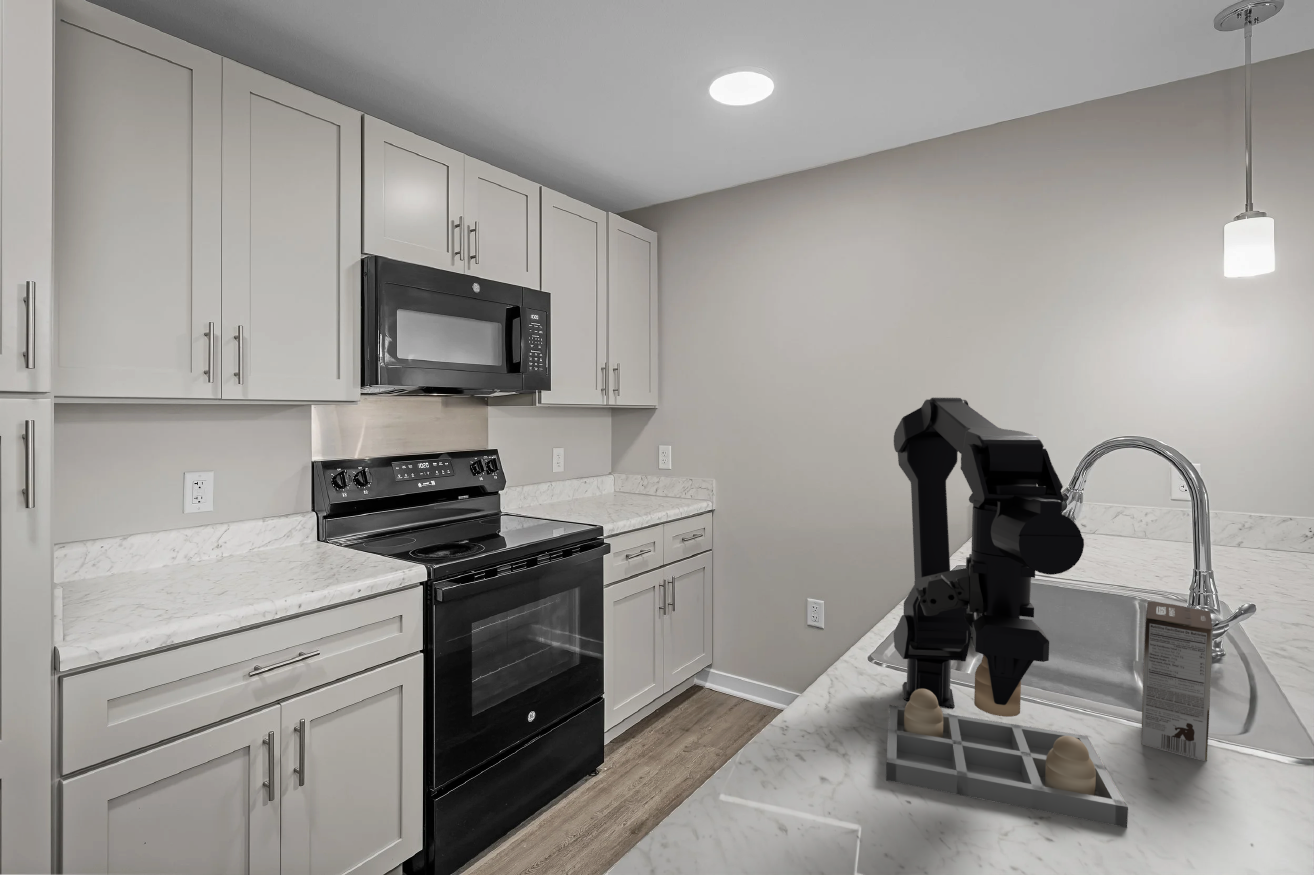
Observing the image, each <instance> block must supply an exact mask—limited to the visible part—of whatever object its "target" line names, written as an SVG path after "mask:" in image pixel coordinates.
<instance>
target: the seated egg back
mask: <svg viewBox="0 0 1314 875" xmlns="http://www.w3.org/2000/svg"><path fill="white" fill-rule="evenodd" d="M904 707H905V712H904V732H910V733H916V734H922V735H927V736H933V737H939V738H943V713H944V712H943V711H942V707H939V705H938V700H937V698H936V696H935V695H934V694H933V693H932V692H931V691H929V690H927V689H917V690H915V691H914V692H913V693H912V695H911V697H910V701H909V702H906V704H905V706H904Z"/></svg>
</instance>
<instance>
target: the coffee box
mask: <svg viewBox="0 0 1314 875" xmlns="http://www.w3.org/2000/svg"><path fill="white" fill-rule="evenodd" d="M1212 621H1213V620H1212V615H1211V611H1210V610H1205V609H1198V608H1192V607H1188V606H1185V605H1178V604H1173V603H1166V602H1160V601H1153V600H1151V601H1147V604H1146V614H1145V625H1144V647H1143V648H1144V650H1143V670H1142V672H1143V673H1142V700H1141V701H1142V703H1141V705H1142V706H1141V733H1140V734H1141V736H1140V737H1141V740H1140V741H1141V745H1143V746H1146V747H1151V748H1153V749H1158V750H1160V751H1164V752H1169V753H1173V754H1176V755H1180V756H1184V757H1187V758H1191V759H1195V760H1199V761H1203V762H1207V761H1208V747H1209V746H1208V743H1209V728H1210V727H1209V726H1210V709H1211V707H1210V706H1211V686H1212V685H1211V684H1212V682H1211V681H1212V661H1213V658H1212V657H1213V634H1214V628H1213V622H1212Z"/></svg>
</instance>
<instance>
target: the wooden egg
mask: <svg viewBox="0 0 1314 875" xmlns="http://www.w3.org/2000/svg"><path fill="white" fill-rule="evenodd" d="M973 693H974V694H973V695H974V696H973V697H974V699H973V700H974V701H973V702H974V706H975V708H977V709H978V710H980V711H982V712H984V713H986V714H989V715H993V716H997V717H1006V718H1007V717H1011V718H1012V717H1016V716H1019V715H1020V714H1021V702H1022V701H1021V697H1022V696H1021V695H1022V680H1021V681H1020V682H1019V684H1018V686H1017V687H1016V689H1015V691H1014V692H1013V694H1012V696H1011V697H1010V699H1009V701H1008V702H1007V704H1006V705H999V704H995V703H994V699H993V694H992V688H991V682H990V676H989V670H988V664H987V658H986V656H983V655H982V658H981V662H980V663H979V664H978V666H977V667H976V669H975V673H974V692H973Z"/></svg>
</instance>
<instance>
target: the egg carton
mask: <svg viewBox="0 0 1314 875" xmlns="http://www.w3.org/2000/svg"><path fill="white" fill-rule="evenodd" d="M905 707H906V706H900V705H894V704H889V707H888V724H887V725H888V726H887V727H888V728H887V744H886V745H887V746H886V747H887V748H886V764H885V766H886V769H885V770H886V772H885V773H886V774H885V778H886V779H885V780H886V782H891V783H898V784H901V785H907V786H911V787H919V788H922V789H928V790H933V791H939V792H943V793H948V794H952V795H958V796H963V797H969V798H973V799H979V800H984V801H989V802H994V803H999V804H1003V805H1008V806H1015V807H1020V808H1024V809H1029V810H1034V811H1035V810H1036V811H1039V812H1045V813H1051V814H1054V815H1060V816H1064V817H1070V818H1073V819H1074V818H1075V819H1080V820H1086V821H1090V822H1096V823H1099V824H1100V823H1101V824H1104V825H1105V824H1107V825H1110V826H1115V827H1121V828H1126V829H1127V828H1128V817H1129V815H1128V814H1129V807H1128V805H1127V803H1126V801H1125V800H1124V797H1123V795H1122V794H1121V792H1120V791H1119V789H1118V787H1117V786H1116V783H1115V781H1114V780H1113V778H1112V776H1111V774H1110V773H1109V771H1108V769H1107V768H1106V766H1105V765H1104V763H1103V760H1102V759H1101V757H1100V756H1099V754H1098V752H1097V750H1096V749H1095V747H1094V745H1093V744H1092V742H1091V740H1090V738H1089V736H1088V735H1085V734H1078V733H1071V732H1066V731H1061V730H1059V731H1058V730H1052V729H1048V728H1047V729H1046V728H1039V727H1036V726H1035V727H1033V726H1027V725H1022V724H1021V725H1019V724H1016V723H1015V724H1014V723H1009V722H1008V723H1007V722H1003V721H995V720H990V719H989V720H988V719H983V718H976V717H970V716H964V715H959V714H952V713H951V714H950V713H945V712H942V713H943V738H939V737H933V736H927V735H922V734H916V733H910V732H904V712H905ZM1062 736H1072V737H1075V738H1077V739H1079V740H1080V741H1081V742H1083V744H1084V745H1085V746H1086V747H1087V749H1088V752H1089V757H1090V759H1091V760H1092V762H1093V764H1094V766H1095V770H1096V783H1095V796H1093V795H1087V794H1082V793H1077V792H1071V791H1066V790H1060V789H1055V788H1049V787H1045V774H1046V757H1047V755H1048V753H1049V751H1050V750H1051V749H1052V748H1053V745H1054V743H1055V741H1056V740H1057V739H1058V738H1060V737H1062Z"/></svg>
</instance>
